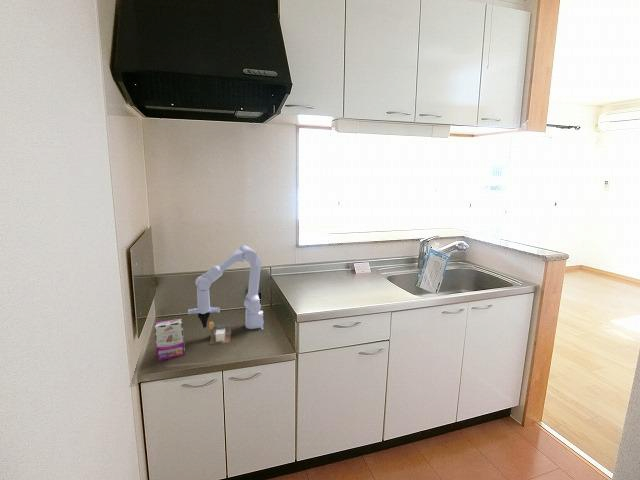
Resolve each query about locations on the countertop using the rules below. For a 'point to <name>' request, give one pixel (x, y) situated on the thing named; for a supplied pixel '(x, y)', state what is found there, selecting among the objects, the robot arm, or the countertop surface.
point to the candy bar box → (169, 339)
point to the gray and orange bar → (217, 326)
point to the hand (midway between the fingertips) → (204, 326)
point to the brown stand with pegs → (213, 341)
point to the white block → (220, 334)
